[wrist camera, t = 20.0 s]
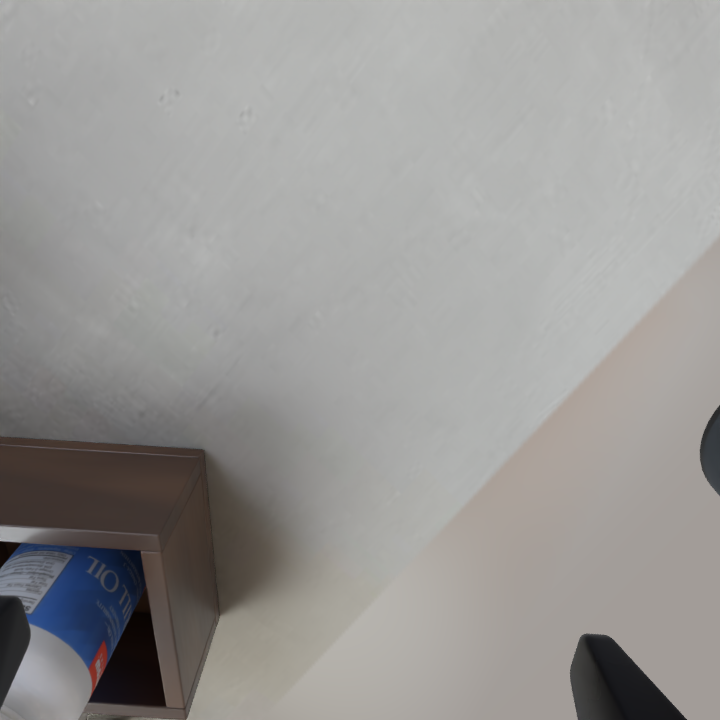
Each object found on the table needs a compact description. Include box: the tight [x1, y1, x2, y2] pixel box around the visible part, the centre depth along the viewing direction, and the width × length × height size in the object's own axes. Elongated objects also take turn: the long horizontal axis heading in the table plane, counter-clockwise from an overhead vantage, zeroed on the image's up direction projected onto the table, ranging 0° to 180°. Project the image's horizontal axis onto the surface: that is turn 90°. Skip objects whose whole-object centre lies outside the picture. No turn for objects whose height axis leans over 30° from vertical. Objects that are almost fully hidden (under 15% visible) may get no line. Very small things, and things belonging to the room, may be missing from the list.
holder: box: [0, 437, 219, 720], centre depth 23 cm, size 10×10×5 cm
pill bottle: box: [0, 543, 146, 720], centre depth 21 cm, size 6×5×10 cm
